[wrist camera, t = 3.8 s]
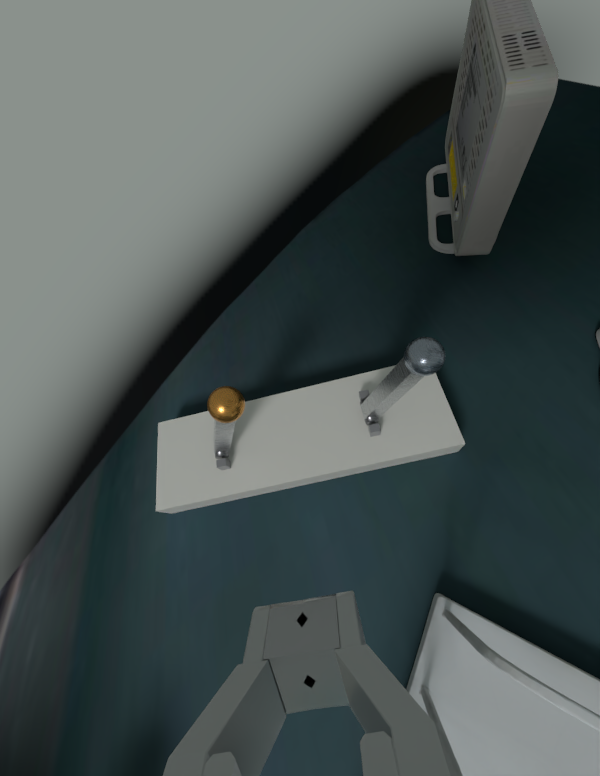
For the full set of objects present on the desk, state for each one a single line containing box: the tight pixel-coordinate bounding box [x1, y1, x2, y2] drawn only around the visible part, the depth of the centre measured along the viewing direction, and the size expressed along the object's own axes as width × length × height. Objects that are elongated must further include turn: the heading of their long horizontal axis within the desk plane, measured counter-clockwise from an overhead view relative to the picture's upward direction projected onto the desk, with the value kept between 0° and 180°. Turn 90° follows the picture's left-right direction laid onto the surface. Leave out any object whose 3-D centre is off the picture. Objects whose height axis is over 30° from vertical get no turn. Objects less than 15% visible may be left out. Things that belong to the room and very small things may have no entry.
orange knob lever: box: [207, 386, 245, 459], centre depth 30 cm, size 3×3×12 cm
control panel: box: [156, 365, 465, 514], centre depth 36 cm, size 32×10×4 cm, turn 101°
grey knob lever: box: [360, 337, 445, 425], centre depth 29 cm, size 3×3×12 cm
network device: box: [426, 0, 558, 256], centre depth 40 cm, size 26×9×20 cm, turn 173°
